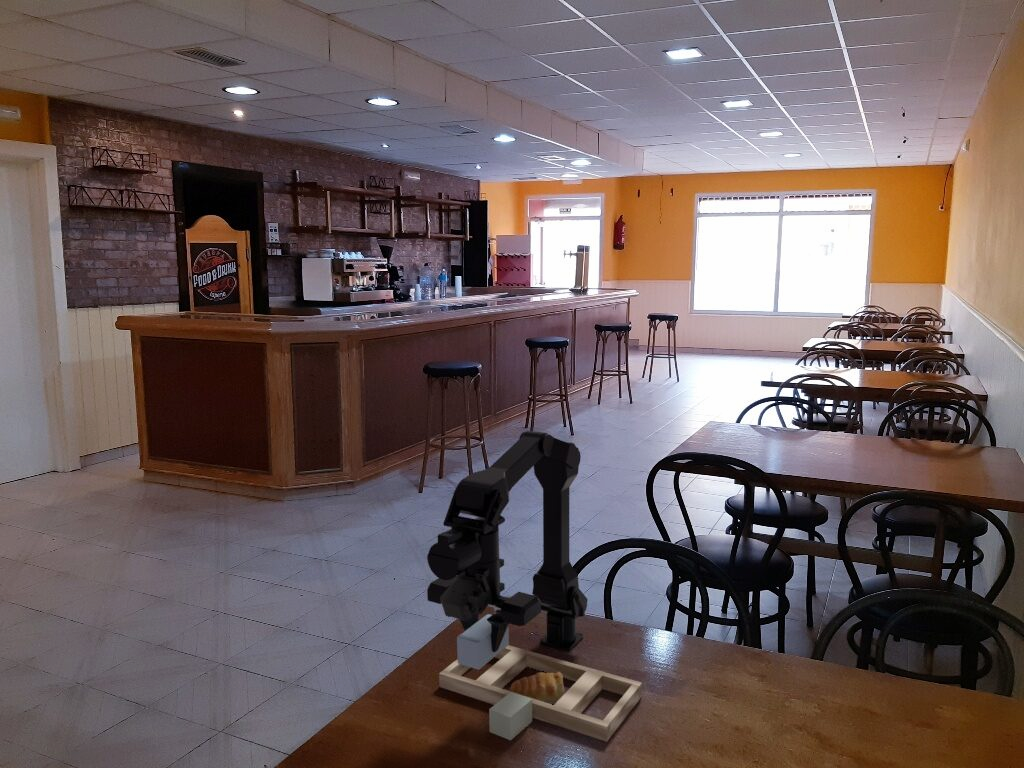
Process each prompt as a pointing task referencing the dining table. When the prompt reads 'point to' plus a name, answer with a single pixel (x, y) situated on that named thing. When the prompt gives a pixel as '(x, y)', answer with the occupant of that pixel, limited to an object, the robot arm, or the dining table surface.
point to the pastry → (540, 687)
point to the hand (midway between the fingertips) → (484, 647)
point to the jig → (567, 706)
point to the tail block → (510, 715)
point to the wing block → (478, 644)
